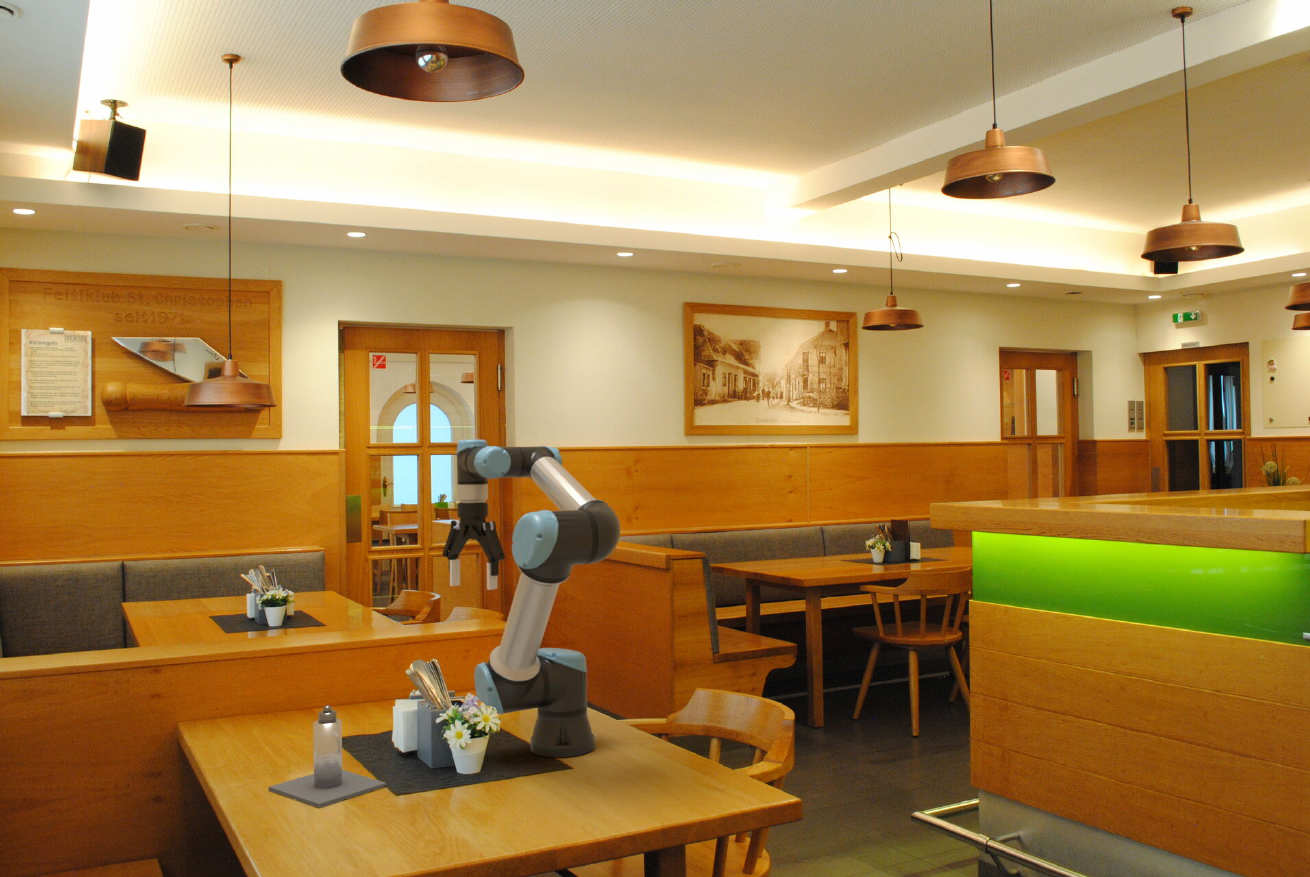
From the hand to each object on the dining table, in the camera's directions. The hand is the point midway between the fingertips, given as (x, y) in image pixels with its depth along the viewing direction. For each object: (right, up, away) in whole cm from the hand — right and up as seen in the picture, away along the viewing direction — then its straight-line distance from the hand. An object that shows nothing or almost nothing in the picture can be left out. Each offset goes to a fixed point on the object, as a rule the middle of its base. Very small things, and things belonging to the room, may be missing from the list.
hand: (473, 587), depth 248 cm
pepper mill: (-23, -35, -39) cm, 58 cm away
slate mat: (-23, -36, -39) cm, 58 cm away
